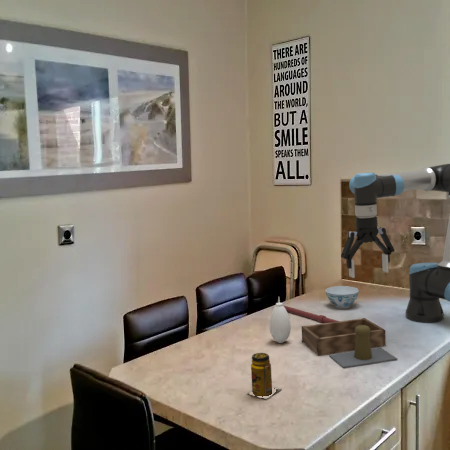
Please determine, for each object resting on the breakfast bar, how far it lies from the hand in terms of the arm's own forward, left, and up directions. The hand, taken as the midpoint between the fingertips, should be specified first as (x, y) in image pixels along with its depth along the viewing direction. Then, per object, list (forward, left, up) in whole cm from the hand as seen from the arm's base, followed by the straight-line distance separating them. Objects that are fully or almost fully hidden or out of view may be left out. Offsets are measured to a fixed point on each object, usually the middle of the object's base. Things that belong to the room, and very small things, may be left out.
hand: (368, 274), depth 195 cm
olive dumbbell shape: (+9, +11, -26) cm, 30 cm away
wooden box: (+9, -5, -27) cm, 28 cm away
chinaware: (-12, -49, -27) cm, 57 cm away
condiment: (+49, +24, -27) cm, 61 cm away
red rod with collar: (+7, -36, -27) cm, 46 cm away
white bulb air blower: (+30, -15, -27) cm, 43 cm away
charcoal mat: (+9, +11, -27) cm, 30 cm away
